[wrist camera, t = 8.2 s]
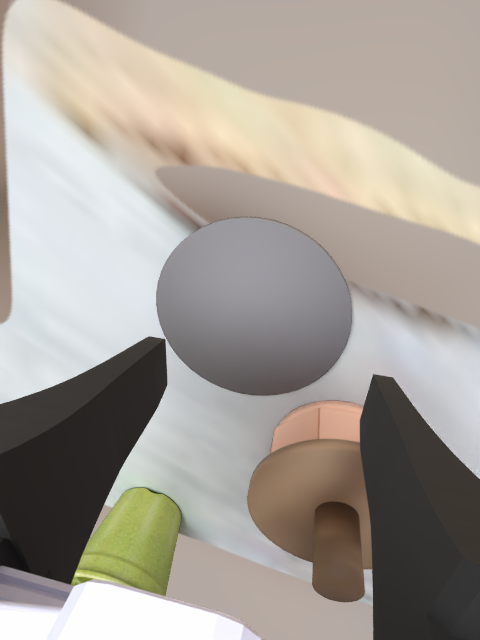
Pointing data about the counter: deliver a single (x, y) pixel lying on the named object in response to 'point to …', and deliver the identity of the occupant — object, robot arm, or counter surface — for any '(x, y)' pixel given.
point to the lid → (317, 511)
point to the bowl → (319, 423)
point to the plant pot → (133, 543)
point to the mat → (254, 306)
